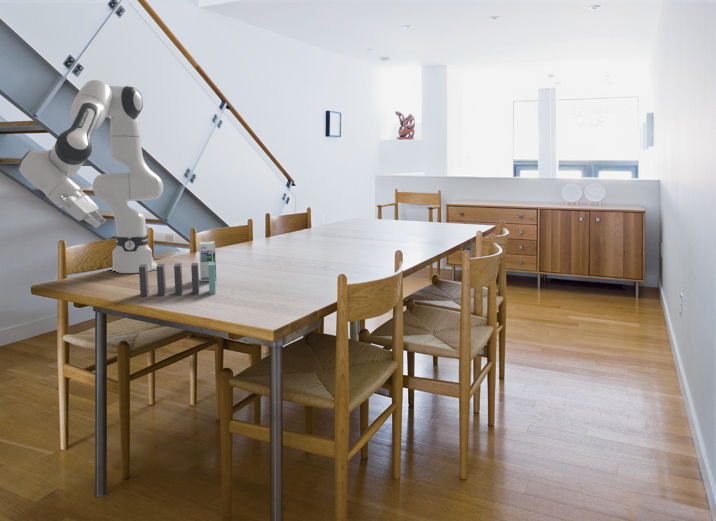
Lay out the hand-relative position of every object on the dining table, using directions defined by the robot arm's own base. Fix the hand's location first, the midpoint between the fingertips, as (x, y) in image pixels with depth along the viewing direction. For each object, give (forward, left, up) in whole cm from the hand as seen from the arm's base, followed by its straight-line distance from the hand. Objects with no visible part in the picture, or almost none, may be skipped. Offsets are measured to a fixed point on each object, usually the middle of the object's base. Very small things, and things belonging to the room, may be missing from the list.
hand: (101, 224), depth 185 cm
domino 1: (0, +12, -24) cm, 27 cm away
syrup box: (-20, +32, -24) cm, 45 cm away
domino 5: (0, +34, -24) cm, 41 cm away
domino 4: (0, +28, -24) cm, 37 cm away
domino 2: (0, +17, -24) cm, 30 cm away
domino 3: (0, +23, -24) cm, 33 cm away
